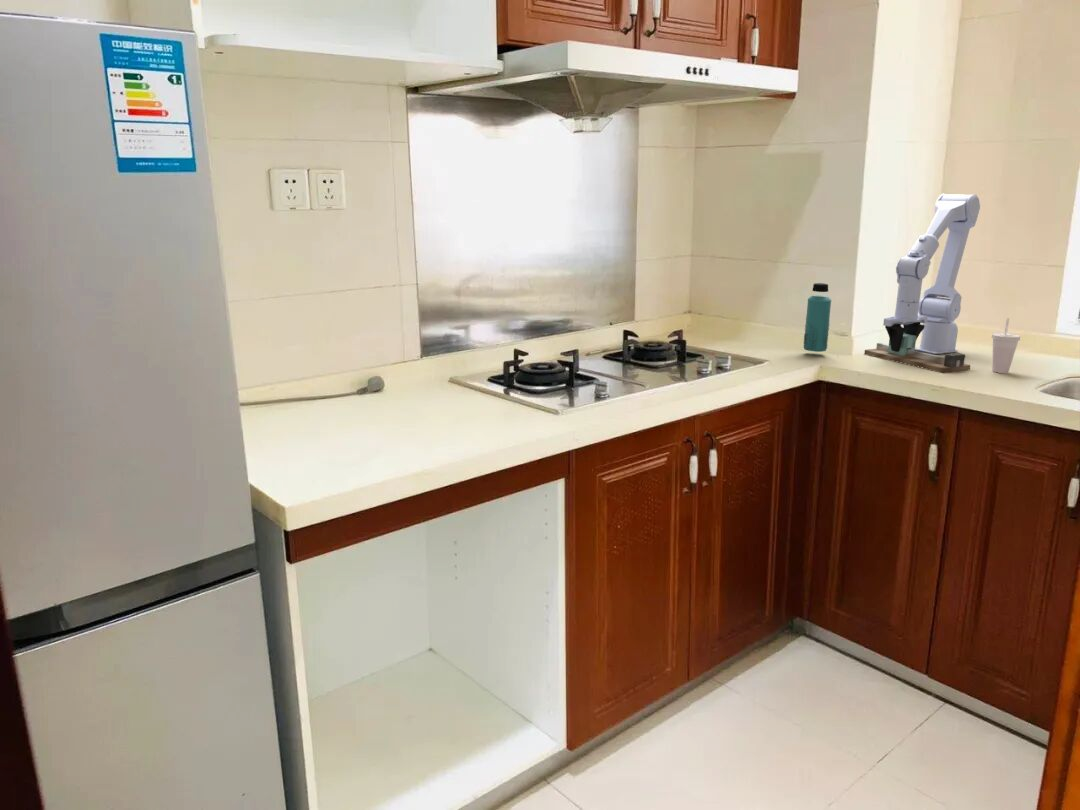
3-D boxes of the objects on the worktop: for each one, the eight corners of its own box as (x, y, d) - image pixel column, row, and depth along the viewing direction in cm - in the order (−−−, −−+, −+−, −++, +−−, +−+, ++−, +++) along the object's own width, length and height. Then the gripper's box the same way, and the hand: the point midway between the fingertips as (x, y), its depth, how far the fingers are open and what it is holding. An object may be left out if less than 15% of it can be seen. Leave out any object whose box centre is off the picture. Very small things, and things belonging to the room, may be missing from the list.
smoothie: (981, 371, 213) (990, 317, 209) (993, 368, 217) (1001, 315, 213) (1007, 375, 208) (1016, 321, 205) (1019, 372, 212) (1028, 318, 208)
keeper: (887, 352, 229) (890, 333, 228) (899, 351, 231) (901, 332, 229) (902, 355, 225) (904, 337, 223) (914, 354, 227) (916, 335, 225)
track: (864, 354, 233) (866, 339, 232) (889, 351, 237) (891, 336, 236) (943, 373, 210) (946, 356, 209) (970, 369, 215) (972, 353, 214)
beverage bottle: (831, 356, 229) (839, 284, 224) (811, 357, 227) (818, 285, 222) (817, 351, 235) (824, 281, 230) (797, 353, 233) (803, 282, 228)
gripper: (901, 304, 217) (894, 355, 221) (939, 301, 223) (932, 350, 227) (879, 301, 223) (873, 350, 227) (917, 298, 229) (911, 346, 233)
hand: (901, 350), depth 227 cm, fingers closed on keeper, 4 cm apart
